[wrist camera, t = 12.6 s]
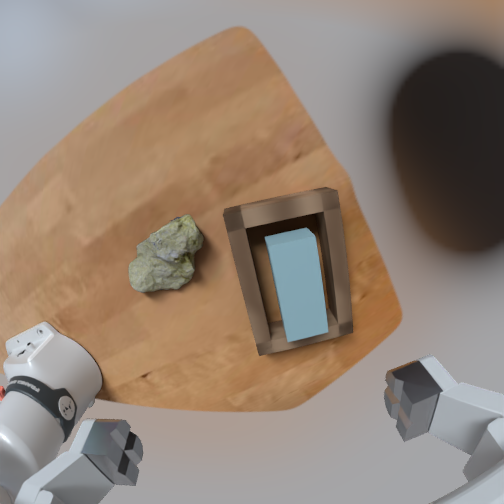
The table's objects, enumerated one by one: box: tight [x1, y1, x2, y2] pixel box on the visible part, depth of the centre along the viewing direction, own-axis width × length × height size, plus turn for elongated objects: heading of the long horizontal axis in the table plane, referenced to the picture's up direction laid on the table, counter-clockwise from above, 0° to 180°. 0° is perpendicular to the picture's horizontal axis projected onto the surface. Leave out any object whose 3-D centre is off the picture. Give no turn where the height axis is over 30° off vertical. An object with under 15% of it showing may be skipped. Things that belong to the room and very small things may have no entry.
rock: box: [129, 214, 204, 293], centre depth 36 cm, size 11×6×10 cm
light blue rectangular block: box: [265, 228, 328, 342], centre depth 34 cm, size 12×5×4 cm, turn 13°
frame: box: [223, 187, 353, 356], centre depth 37 cm, size 13×19×4 cm
